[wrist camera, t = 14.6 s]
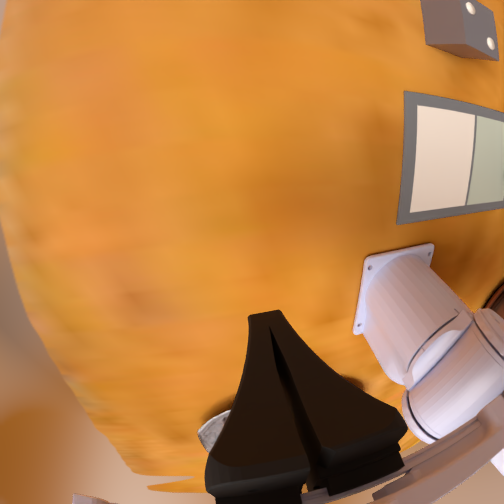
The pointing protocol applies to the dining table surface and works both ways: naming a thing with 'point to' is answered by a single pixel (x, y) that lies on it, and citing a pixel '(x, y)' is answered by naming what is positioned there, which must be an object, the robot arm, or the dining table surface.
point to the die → (460, 28)
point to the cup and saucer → (497, 302)
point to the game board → (450, 159)
